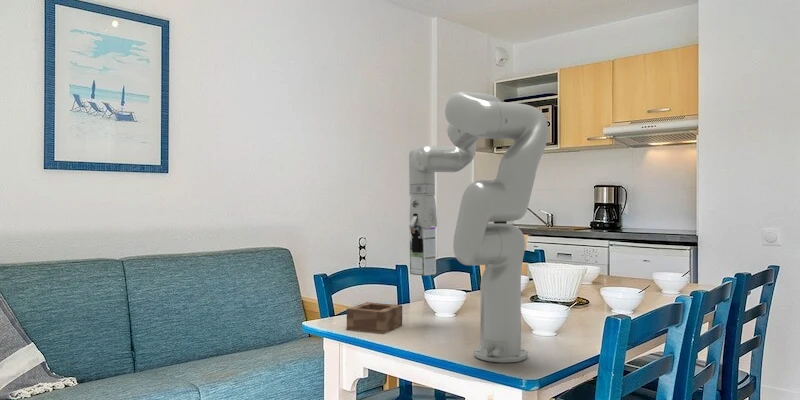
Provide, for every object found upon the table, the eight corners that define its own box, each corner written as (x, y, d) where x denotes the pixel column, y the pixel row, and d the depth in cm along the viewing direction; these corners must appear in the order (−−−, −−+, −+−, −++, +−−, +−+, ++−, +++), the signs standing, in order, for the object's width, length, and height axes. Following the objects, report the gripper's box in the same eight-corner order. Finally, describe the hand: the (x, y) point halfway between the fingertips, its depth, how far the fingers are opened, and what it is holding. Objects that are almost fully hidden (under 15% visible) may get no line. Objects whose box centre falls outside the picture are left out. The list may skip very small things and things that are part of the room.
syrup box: (437, 274, 175) (436, 224, 175) (423, 276, 170) (423, 225, 171) (422, 273, 179) (421, 224, 179) (409, 274, 174) (408, 225, 175)
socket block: (383, 333, 166) (383, 312, 166) (346, 329, 171) (346, 308, 171) (402, 325, 177) (402, 305, 177) (366, 321, 182) (366, 302, 182)
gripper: (422, 189, 165) (422, 254, 165) (444, 191, 181) (445, 249, 181) (397, 190, 169) (398, 253, 168) (422, 191, 184) (422, 249, 184)
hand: (422, 251), depth 175 cm, fingers closed on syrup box, 7 cm apart
